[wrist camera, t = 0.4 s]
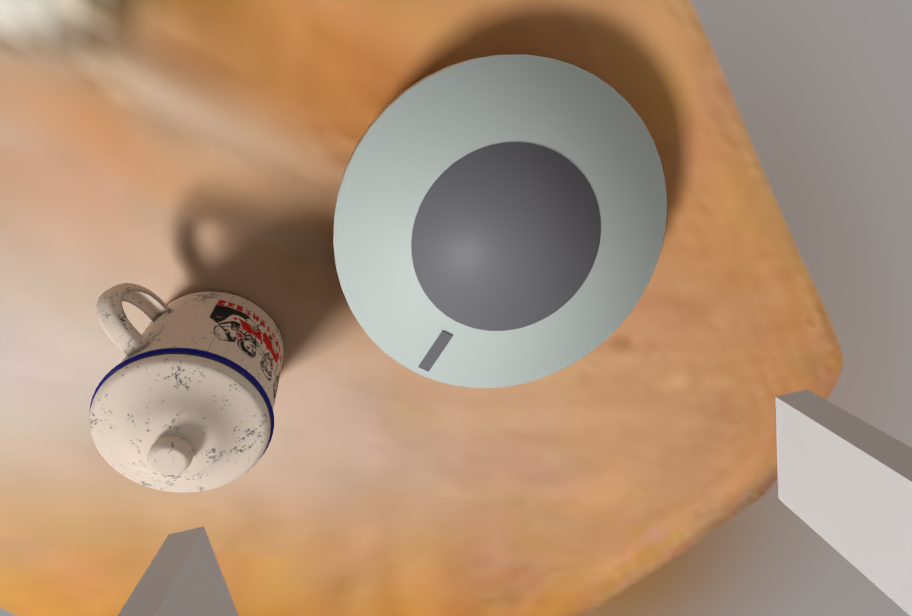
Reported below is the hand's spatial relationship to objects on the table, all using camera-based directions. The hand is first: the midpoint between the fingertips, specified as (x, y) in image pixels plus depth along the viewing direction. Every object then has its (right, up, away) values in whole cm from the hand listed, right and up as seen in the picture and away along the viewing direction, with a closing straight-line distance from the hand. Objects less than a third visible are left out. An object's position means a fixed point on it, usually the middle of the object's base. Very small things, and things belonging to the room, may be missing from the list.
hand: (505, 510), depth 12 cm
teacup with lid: (-18, +3, +24) cm, 30 cm away
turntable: (+2, +9, +22) cm, 24 cm away
